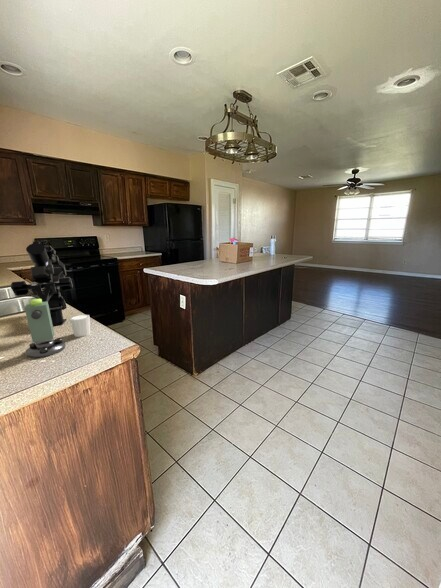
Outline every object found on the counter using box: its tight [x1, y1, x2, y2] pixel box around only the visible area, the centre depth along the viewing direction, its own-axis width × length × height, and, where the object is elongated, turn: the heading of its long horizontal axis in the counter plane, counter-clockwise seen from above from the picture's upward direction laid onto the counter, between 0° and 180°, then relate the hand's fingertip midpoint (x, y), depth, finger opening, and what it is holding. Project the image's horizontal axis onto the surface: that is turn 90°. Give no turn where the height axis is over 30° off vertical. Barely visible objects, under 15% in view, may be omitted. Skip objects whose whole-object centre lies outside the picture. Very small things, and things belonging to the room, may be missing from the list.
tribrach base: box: [25, 337, 66, 359], centre depth 84 cm, size 11×11×3 cm
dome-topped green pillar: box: [24, 298, 55, 344], centre depth 80 cm, size 6×6×15 cm
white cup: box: [69, 314, 91, 338], centre depth 96 cm, size 7×7×7 cm
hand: (44, 304), depth 91 cm, fingers closed
